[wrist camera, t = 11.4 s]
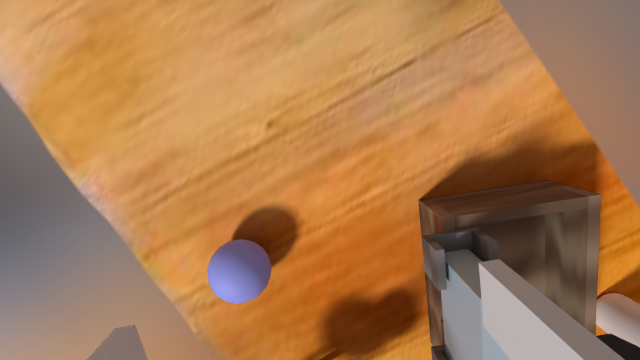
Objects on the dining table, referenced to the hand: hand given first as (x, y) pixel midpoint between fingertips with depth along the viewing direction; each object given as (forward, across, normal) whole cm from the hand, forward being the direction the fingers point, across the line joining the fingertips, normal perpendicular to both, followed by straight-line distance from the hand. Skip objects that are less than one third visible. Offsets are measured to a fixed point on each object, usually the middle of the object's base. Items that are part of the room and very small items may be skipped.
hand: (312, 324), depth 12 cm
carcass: (+26, +19, -15) cm, 36 cm away
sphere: (+26, -10, -8) cm, 29 cm away
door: (+18, +12, -15) cm, 27 cm away
